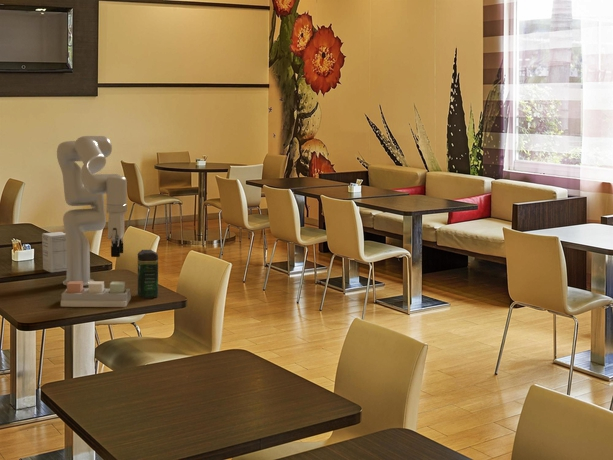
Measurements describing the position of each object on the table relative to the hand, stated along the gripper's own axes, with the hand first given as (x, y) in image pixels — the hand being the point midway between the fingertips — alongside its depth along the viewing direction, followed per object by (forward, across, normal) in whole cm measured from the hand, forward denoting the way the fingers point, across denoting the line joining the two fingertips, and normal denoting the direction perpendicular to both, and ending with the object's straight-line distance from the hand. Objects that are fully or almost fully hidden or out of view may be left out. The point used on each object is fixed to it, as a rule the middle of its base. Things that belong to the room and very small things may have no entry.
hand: (117, 254), depth 314 cm
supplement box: (+19, -63, -38) cm, 76 cm away
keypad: (+19, 0, -8) cm, 20 cm away
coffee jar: (+19, -12, +10) cm, 25 cm away
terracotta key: (+15, 0, -16) cm, 22 cm away
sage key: (+15, 0, 0) cm, 15 cm away
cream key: (+15, 0, -8) cm, 17 cm away
